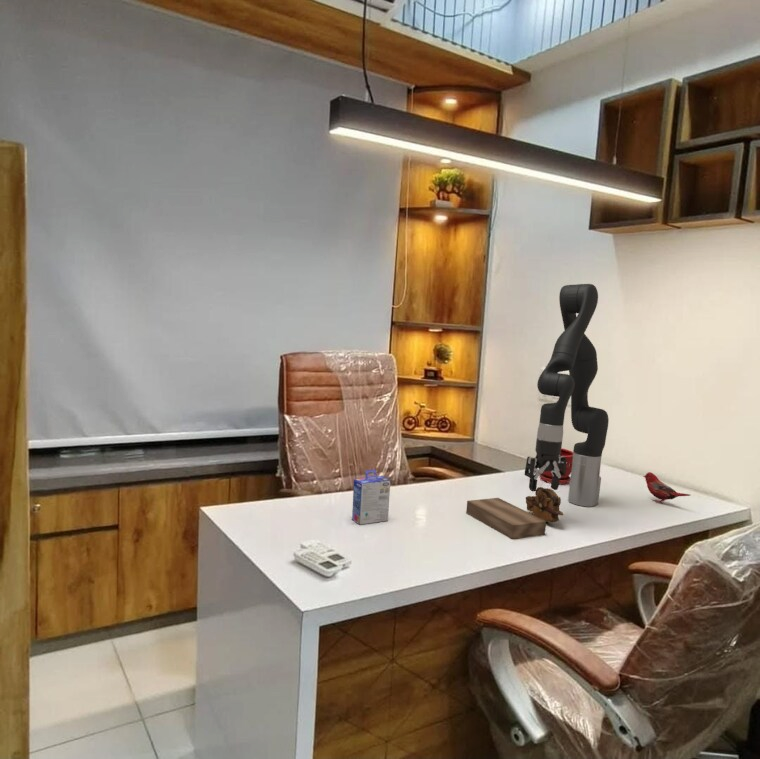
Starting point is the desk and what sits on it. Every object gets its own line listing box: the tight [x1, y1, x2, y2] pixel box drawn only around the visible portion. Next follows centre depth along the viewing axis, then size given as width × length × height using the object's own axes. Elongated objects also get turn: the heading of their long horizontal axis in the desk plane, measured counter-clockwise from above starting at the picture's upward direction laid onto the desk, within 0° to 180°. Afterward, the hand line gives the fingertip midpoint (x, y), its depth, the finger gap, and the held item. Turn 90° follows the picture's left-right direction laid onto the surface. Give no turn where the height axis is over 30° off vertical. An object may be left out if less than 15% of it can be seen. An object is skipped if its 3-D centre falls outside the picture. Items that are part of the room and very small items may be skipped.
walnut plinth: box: [465, 497, 547, 540], centre depth 179 cm, size 12×22×4 cm, turn 27°
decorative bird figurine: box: [642, 472, 691, 505], centre depth 210 cm, size 3×18×10 cm, turn 34°
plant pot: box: [538, 447, 573, 485], centre depth 231 cm, size 13×13×12 cm
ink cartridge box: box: [351, 469, 391, 525], centre depth 173 cm, size 10×6×14 cm, turn 121°
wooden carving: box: [525, 486, 564, 523], centre depth 184 cm, size 16×5×10 cm, turn 25°
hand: (543, 489), depth 184 cm, fingers open, 8 cm apart
